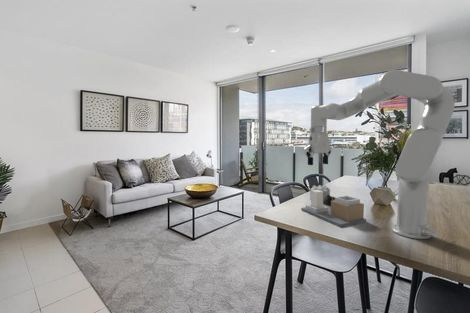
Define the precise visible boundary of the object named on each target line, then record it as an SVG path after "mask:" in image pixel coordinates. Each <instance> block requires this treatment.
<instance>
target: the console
mask: <svg viewBox="0 0 470 313" xmlns="http://www.w3.org/2000/svg"><path fill="white" fill-rule="evenodd" d="M334 197H335V200H334V201H331V207H330V206H327V205H325V204H324V205H323V208H314V207H311V203H310V204H305V206H304V207H301V211H303V212H304V213H306V214H309V215H311V216H314V217H316V218H318V219H321V220H323V221H324V222H325V221H326V222H328V223H330V224H332V225H335V226H336V227H339V228H343V227H348V226H352V225H358V224H363V223H366V222H367V218H365V217H364V211H365V203H363V202H361V198H357V197H353V196H350V195H342V196H334Z"/></svg>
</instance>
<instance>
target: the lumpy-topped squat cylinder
mask: <svg viewBox="0 0 470 313" xmlns="http://www.w3.org/2000/svg"><path fill="white" fill-rule="evenodd" d="M312 190H320V191H323V201H324V198H325V196H326V195H327V193H329V195H330V196H331V190H330V188H329V187H328V186H327V185H321V184H320V185H318V186H317V185H315V184H314V185H312V187H311V188H310V190H309V192H310V194H309V201H310V200H311V191H312Z"/></svg>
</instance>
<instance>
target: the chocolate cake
mask: <svg viewBox="0 0 470 313" xmlns="http://www.w3.org/2000/svg"><path fill="white" fill-rule="evenodd" d="M335 197H336V196H331V194H330V195H329V193H327V195H326V196H325V198H324V201H323V205H324V204H325V205H327V206H330V207H331V201H334V200H335Z"/></svg>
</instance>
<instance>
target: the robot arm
mask: <svg viewBox="0 0 470 313" xmlns="http://www.w3.org/2000/svg"><path fill="white" fill-rule="evenodd" d="M396 96H401V97H406V98H408V99H409V98H410V99H414V100H416V101H418V102H419V103H422V105H424V110H423V112H422V114H421V117H420V120H419V122H418V125H417V126H416V129H415V130H413V131H412V132H411V133H410V134H409V135H408V136H407V138H406V141H405V144H404V146H403V147H402V150H401V153H400V155H399V158H398V160H397V163H396V165H395V172H396V175H397V176H398V177H399V180H398V189H397V190H398V192H397V211H396V212H397V214H396V224H394V225H392V226H391V231H393V232H394V233H395V234H397V235H400V236H403V237H405V238H409V239H410V238H411V239H418V240H426V239H430V238H431V237H433V238H437V237H438V231H437V230H435V229H431V228H430V224H427V220H428V219H427V218H428V204H429V190H430V188H429V186H430V177H431V165H432V163H433V162H434V160H435V157H436V155H437V152H438V150H439V149H440V147H441V145H442V142H443V139H444V138H443V137H444V136H445V134H446V132H447V129H448V127H449V124H450V121H451V119H452V117H453V115H454V114H453V113H454V111H455V104H456V102H455V99H454V96H453V95H452V93H451V91H450V90H448V89H447V87H446V86H444V85H443V82H442V81H441V80H440V78H437V77H435V76H433V75H427V74H422V73H416V72H410V71H405V70H400V69H392V70H389V71H386V72H384V73H383V74H382V75H381V77H379V80H377V81H376V82H374V83H372V84H370V85H367V86H365V87H363V88H361V89H360V90H359V91H358V92H357V94H356V95H355V97H353V98H352V99H350V100H347V101H345V102H343V103H341V104H339V103H333V102H332V103H328V104H324V105H314V106H312V107H311V109H310V128H309V132H310V133H309V136H308V144H307V146H306V147H304V148H303V151H304V154H305V155H306V157H307V165H309V166H313V165H314V157H313V156H314V155H315V154H322V155H323V156H322V164H324V165H329V157H330V155H331V152H332V149H333V147H331V146H330V139H329V134H328V133H327V125H328V124H327V122H328V120H331V121H333V120H334V121H341V120H342V121H343V120H345V119H347V118H349V117H353V116H354V115H357V114H359V113H361V112H362V111H364V110H366V109H368V108H370V107H371V106H374V105H377V104H379V103H381V102H384V101H386V100H389V99H391V98H393V97H396Z"/></svg>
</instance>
